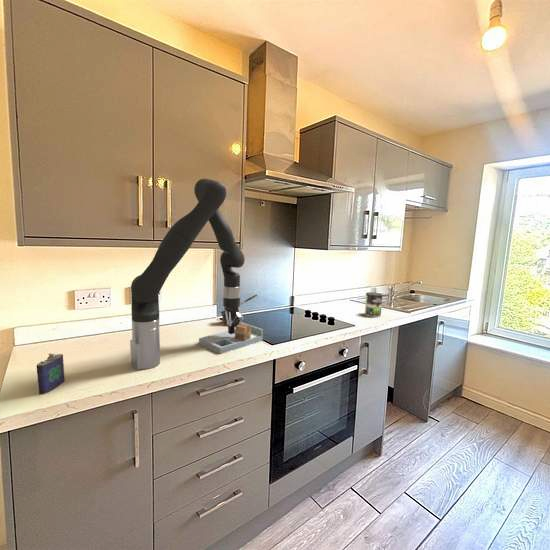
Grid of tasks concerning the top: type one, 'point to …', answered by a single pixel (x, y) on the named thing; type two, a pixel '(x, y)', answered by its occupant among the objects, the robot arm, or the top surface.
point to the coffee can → (373, 304)
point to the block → (243, 332)
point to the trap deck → (230, 340)
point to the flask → (50, 373)
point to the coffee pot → (242, 303)
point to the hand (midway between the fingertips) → (231, 333)
